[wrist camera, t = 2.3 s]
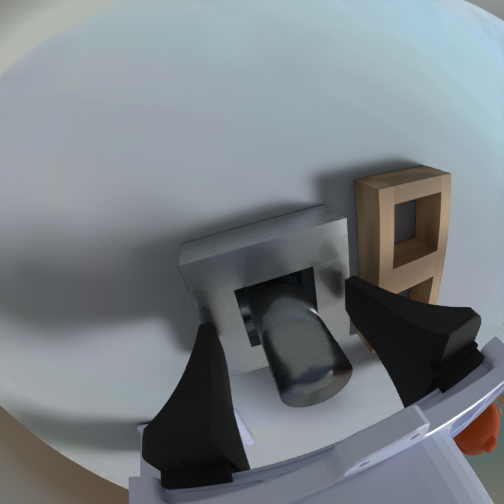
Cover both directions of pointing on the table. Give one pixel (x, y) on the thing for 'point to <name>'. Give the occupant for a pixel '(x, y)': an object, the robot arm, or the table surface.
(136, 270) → the table surface
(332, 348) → the grey metal cylinder
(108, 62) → the table surface
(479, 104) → the table surface
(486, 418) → the toy drill
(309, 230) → the socket block
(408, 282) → the rack
